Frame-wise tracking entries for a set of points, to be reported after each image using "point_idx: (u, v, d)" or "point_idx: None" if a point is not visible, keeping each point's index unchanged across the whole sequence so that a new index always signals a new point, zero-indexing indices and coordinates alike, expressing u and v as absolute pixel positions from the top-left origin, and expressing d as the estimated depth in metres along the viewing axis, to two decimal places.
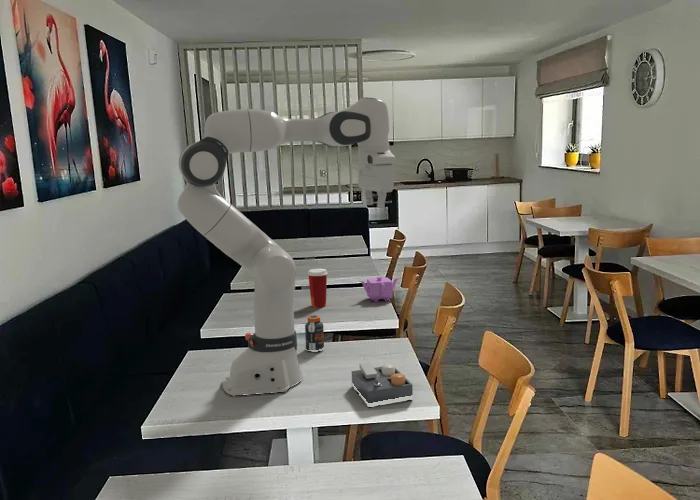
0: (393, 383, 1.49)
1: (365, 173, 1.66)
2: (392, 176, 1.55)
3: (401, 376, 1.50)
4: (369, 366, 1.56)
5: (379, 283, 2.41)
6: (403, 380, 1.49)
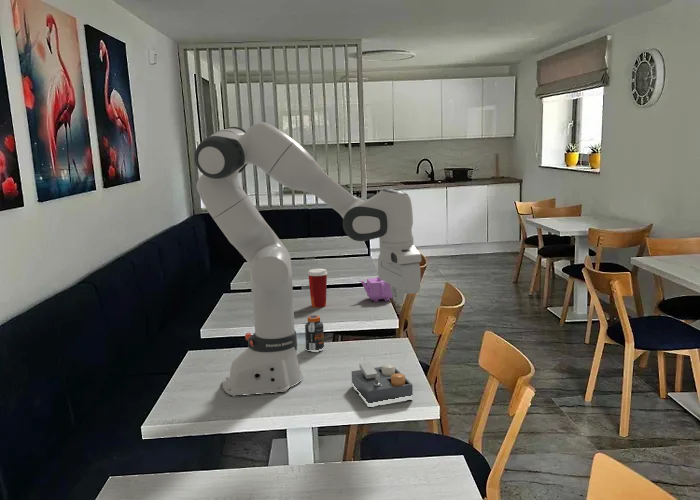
0: (393, 383, 1.49)
1: (387, 266, 1.54)
2: (418, 276, 1.43)
3: (401, 376, 1.50)
4: (369, 366, 1.56)
5: (379, 283, 2.41)
6: (403, 380, 1.49)
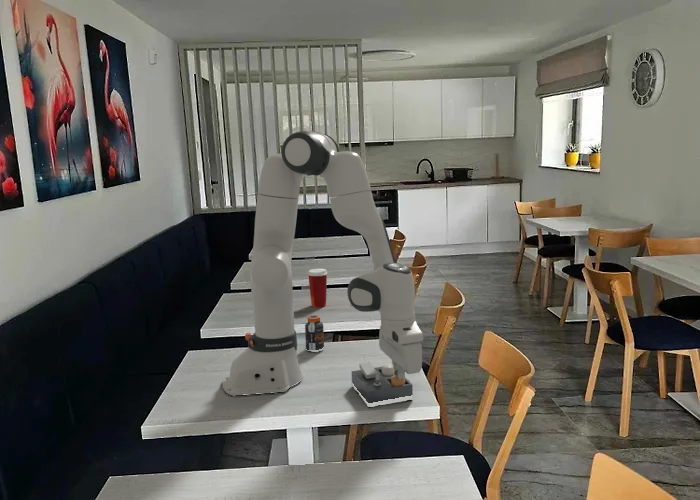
0: (393, 385, 1.49)
1: None
2: (420, 356, 1.40)
3: None
4: (369, 366, 1.56)
5: None
6: (403, 382, 1.49)
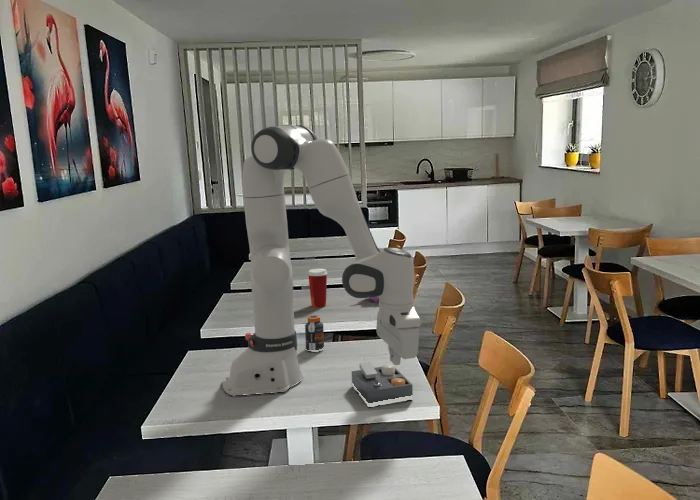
0: None
1: None
2: (416, 342, 1.39)
3: (401, 381, 1.50)
4: (369, 366, 1.56)
5: None
6: None
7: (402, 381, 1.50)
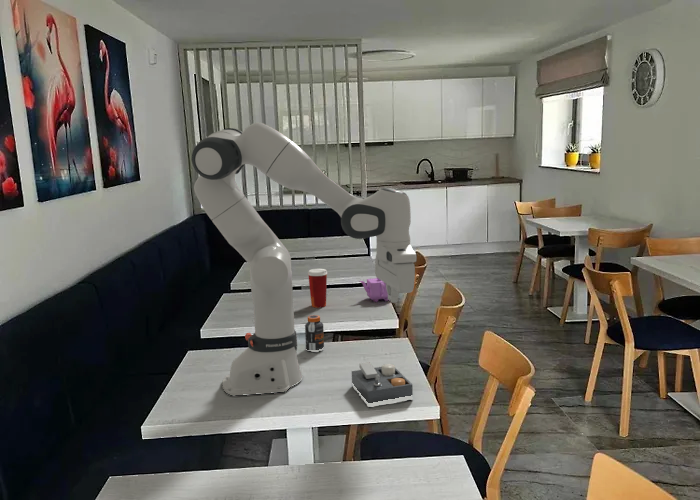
0: None
1: (383, 265, 1.55)
2: (413, 276, 1.44)
3: (401, 381, 1.50)
4: (369, 366, 1.56)
5: (379, 283, 2.41)
6: None
7: (402, 381, 1.50)
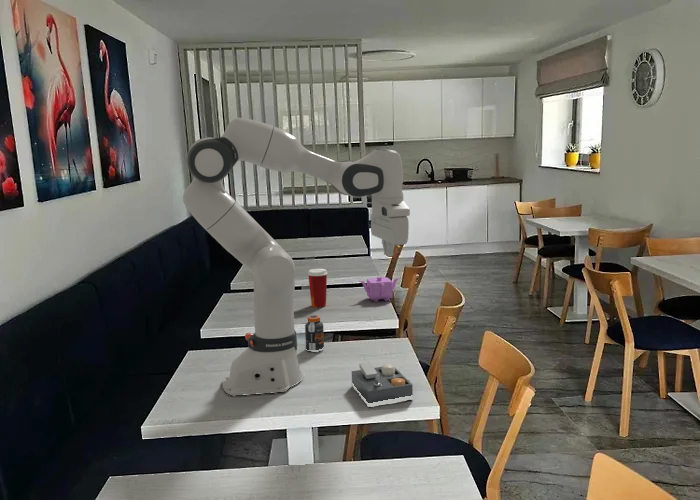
0: None
1: (379, 222, 1.65)
2: (407, 229, 1.54)
3: (401, 381, 1.50)
4: (369, 366, 1.56)
5: (379, 283, 2.41)
6: None
7: (402, 381, 1.50)
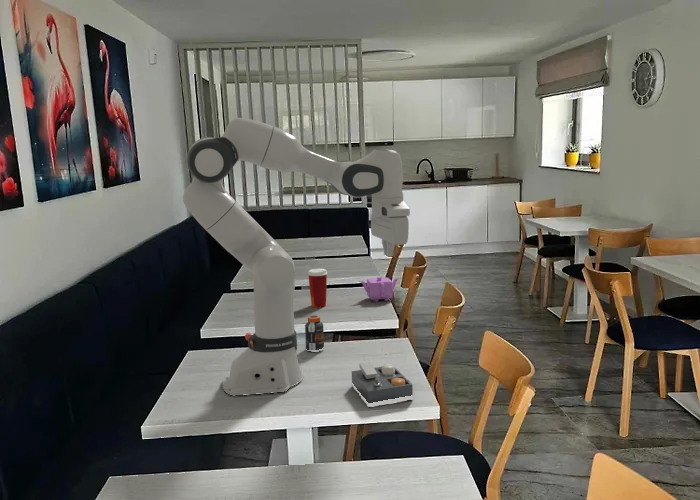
0: None
1: (379, 222, 1.65)
2: (407, 229, 1.54)
3: (401, 381, 1.50)
4: (369, 366, 1.56)
5: (379, 283, 2.41)
6: None
7: (402, 381, 1.50)
